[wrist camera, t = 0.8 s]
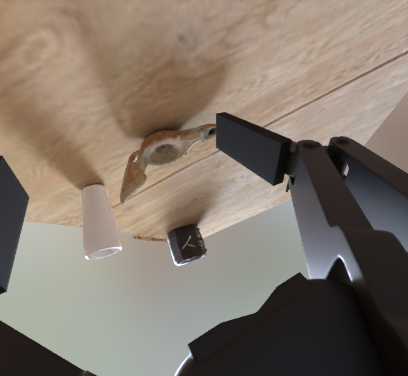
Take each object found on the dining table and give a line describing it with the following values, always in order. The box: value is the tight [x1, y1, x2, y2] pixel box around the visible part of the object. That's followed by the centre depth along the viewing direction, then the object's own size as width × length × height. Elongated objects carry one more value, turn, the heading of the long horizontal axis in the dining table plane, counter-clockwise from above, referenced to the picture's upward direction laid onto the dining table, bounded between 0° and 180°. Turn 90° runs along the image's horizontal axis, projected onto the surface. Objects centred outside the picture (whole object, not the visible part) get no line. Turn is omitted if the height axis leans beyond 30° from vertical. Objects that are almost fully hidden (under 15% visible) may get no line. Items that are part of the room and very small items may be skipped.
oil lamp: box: [120, 124, 216, 204], centre depth 38 cm, size 9×21×10 cm, turn 99°
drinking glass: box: [81, 184, 121, 259], centre depth 45 cm, size 7×7×15 cm
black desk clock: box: [168, 225, 207, 266], centre depth 108 cm, size 18×18×16 cm
